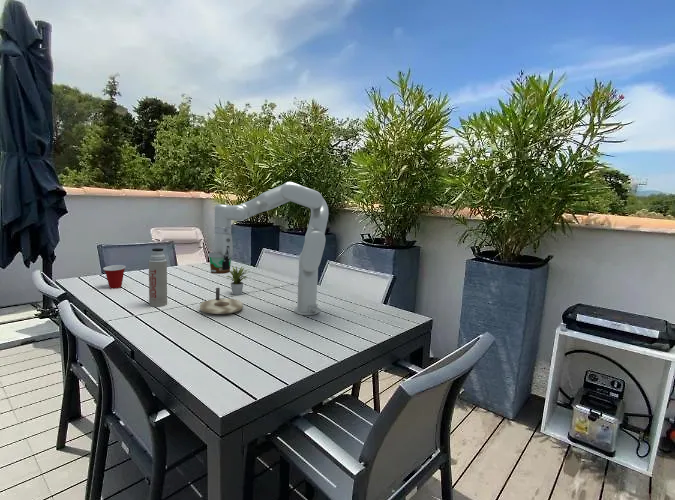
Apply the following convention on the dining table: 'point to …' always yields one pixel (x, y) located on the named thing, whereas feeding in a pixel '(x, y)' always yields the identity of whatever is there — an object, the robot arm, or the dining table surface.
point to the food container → (218, 263)
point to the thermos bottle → (157, 278)
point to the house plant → (237, 281)
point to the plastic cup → (114, 275)
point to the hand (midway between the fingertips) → (222, 268)
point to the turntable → (221, 305)
